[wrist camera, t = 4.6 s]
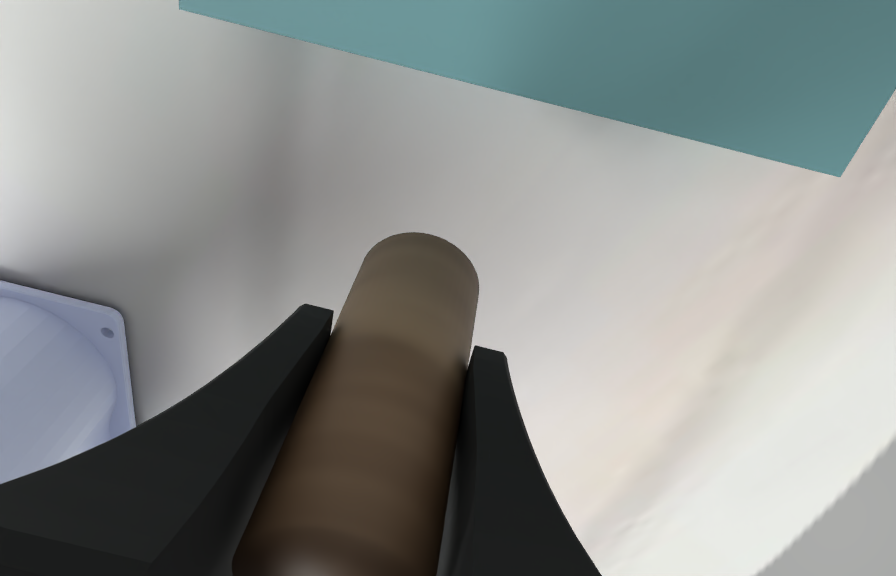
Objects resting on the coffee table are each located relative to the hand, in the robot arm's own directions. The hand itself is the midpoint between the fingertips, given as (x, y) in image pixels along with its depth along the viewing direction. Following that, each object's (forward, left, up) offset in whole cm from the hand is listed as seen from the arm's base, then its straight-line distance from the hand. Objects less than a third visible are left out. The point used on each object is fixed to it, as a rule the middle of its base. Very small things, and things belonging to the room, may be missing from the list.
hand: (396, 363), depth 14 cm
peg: (0, 0, -3) cm, 3 cm away
